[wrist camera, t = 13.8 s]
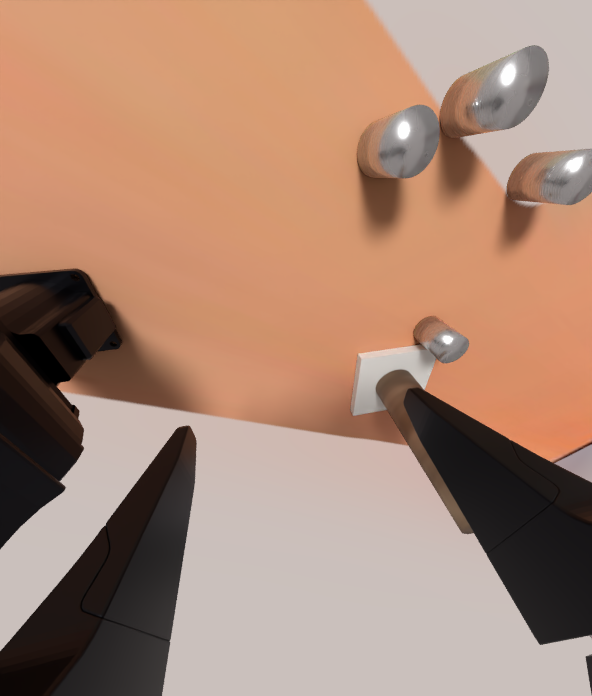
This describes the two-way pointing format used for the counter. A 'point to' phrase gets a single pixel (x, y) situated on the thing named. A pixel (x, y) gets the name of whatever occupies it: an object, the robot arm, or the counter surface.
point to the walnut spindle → (415, 436)
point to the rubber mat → (381, 363)
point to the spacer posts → (469, 119)
